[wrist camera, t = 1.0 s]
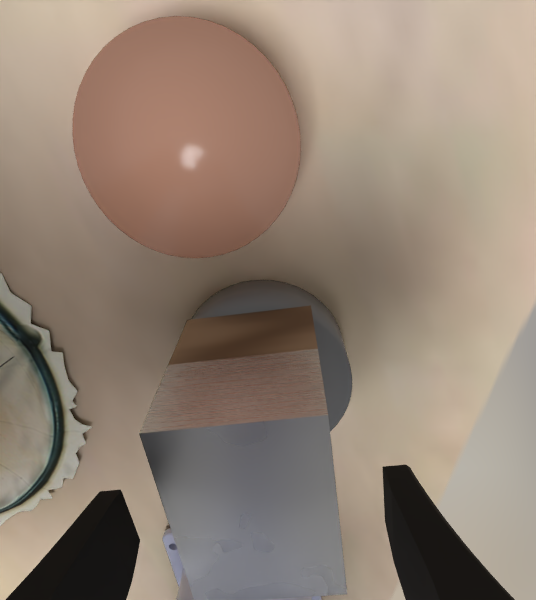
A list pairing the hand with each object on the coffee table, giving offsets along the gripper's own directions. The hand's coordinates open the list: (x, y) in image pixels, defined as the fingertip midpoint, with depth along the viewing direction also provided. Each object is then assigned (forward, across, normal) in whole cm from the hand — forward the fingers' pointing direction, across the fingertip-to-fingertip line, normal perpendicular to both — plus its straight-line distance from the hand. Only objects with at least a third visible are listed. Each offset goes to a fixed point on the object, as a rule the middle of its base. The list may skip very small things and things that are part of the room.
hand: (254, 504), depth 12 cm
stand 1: (+8, +1, -9) cm, 12 cm away
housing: (+6, 0, 0) cm, 6 cm away
